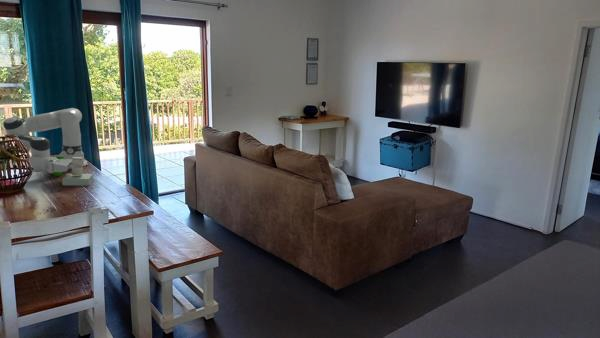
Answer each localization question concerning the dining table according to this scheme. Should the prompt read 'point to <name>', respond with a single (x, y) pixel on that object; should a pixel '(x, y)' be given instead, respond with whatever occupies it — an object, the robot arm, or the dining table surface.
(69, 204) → the dining table surface
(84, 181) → the base plinth
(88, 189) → the dining table surface
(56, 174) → the cup
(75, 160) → the cream block
